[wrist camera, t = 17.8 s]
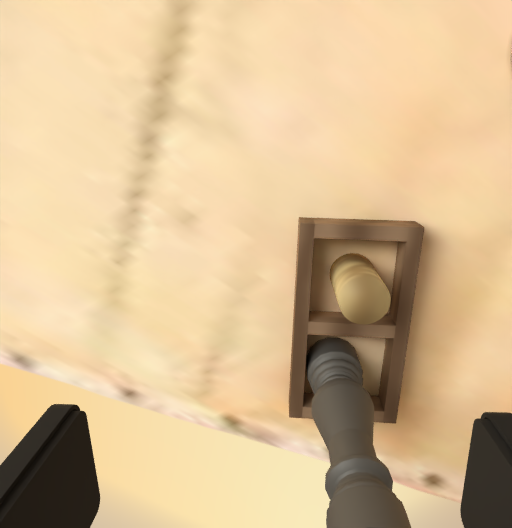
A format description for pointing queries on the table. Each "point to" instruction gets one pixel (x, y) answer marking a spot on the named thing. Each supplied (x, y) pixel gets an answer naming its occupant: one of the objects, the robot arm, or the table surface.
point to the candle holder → (350, 441)
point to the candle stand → (357, 304)
